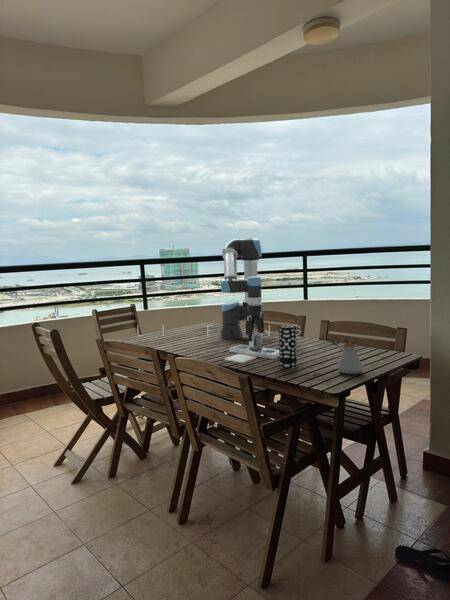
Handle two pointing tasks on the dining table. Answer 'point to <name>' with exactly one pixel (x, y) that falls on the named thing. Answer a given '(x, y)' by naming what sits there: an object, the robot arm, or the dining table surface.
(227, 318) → the robot arm
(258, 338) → the steel plug
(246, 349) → the white socket board
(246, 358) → the pad
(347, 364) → the coffee pot
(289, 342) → the spotted tube
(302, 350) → the dining table surface
